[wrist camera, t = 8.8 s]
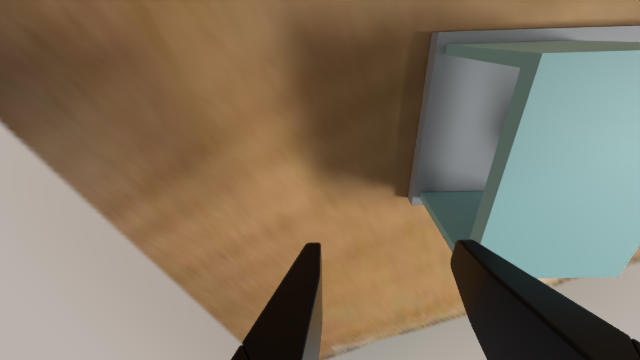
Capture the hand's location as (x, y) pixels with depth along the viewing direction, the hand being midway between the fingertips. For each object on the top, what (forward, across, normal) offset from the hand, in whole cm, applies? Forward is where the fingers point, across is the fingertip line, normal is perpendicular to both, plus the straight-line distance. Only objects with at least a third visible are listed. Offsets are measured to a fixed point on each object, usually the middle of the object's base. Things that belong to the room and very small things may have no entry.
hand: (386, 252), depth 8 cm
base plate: (+12, -13, 0) cm, 17 cm away
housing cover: (+10, -9, 0) cm, 13 cm away
